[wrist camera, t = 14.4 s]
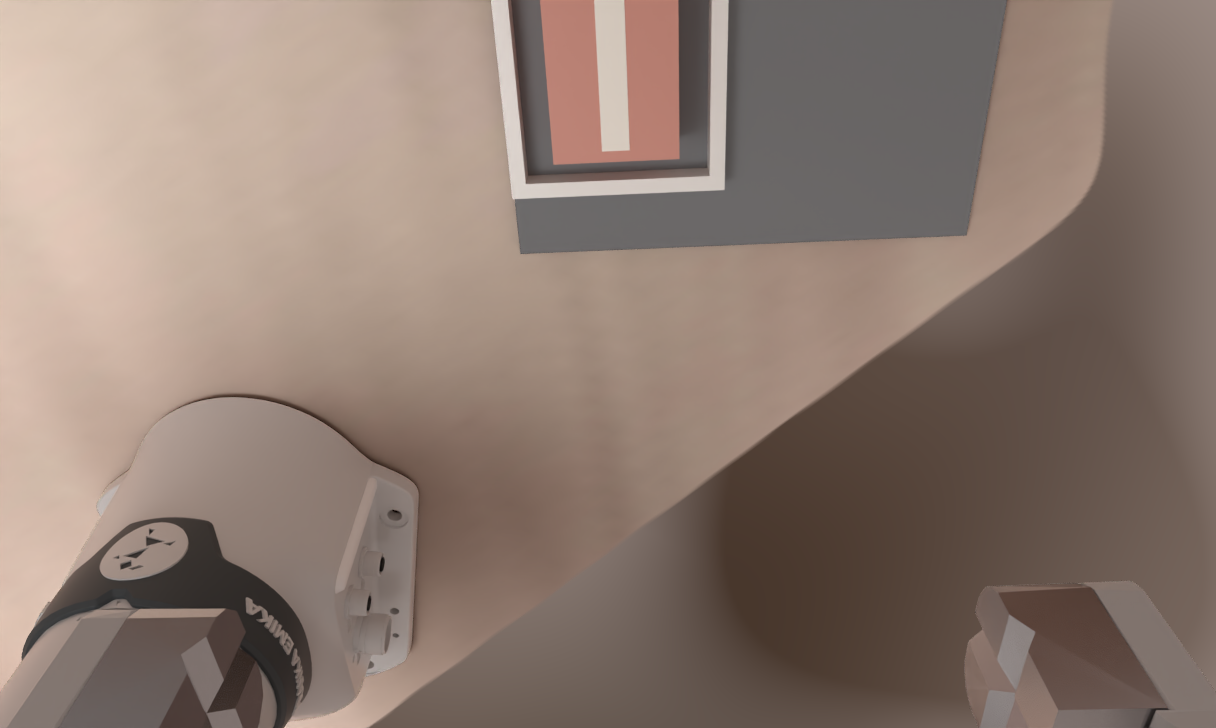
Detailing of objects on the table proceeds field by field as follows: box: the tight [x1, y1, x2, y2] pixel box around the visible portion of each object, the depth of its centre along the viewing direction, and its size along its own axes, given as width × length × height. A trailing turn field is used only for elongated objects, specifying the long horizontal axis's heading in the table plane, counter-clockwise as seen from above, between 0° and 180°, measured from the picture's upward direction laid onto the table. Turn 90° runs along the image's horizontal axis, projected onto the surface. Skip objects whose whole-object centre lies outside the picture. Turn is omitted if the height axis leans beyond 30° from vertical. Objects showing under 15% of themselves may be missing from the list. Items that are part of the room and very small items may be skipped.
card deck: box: [540, 0, 679, 165], centre depth 37 cm, size 9×6×3 cm, turn 3°
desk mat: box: [511, 0, 1007, 254], centre depth 39 cm, size 20×22×1 cm
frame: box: [491, 0, 729, 199], centre depth 38 cm, size 13×10×1 cm
